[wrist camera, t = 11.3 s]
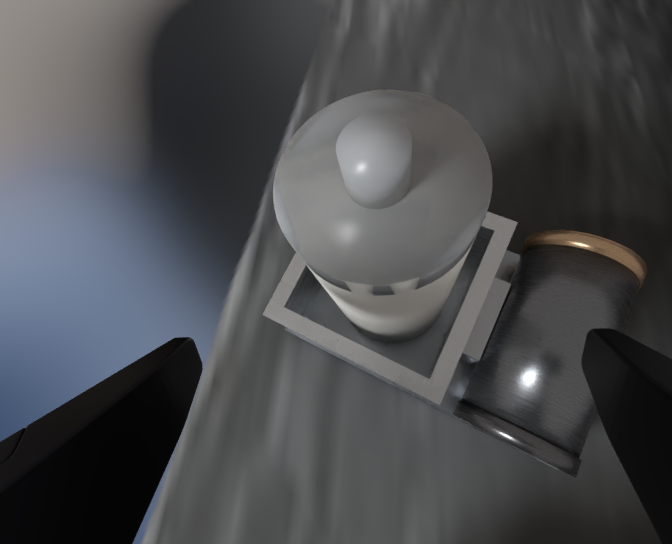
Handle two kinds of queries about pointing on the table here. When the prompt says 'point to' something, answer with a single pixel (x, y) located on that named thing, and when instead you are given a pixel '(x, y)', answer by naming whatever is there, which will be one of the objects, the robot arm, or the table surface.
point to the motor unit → (494, 335)
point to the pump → (384, 206)
